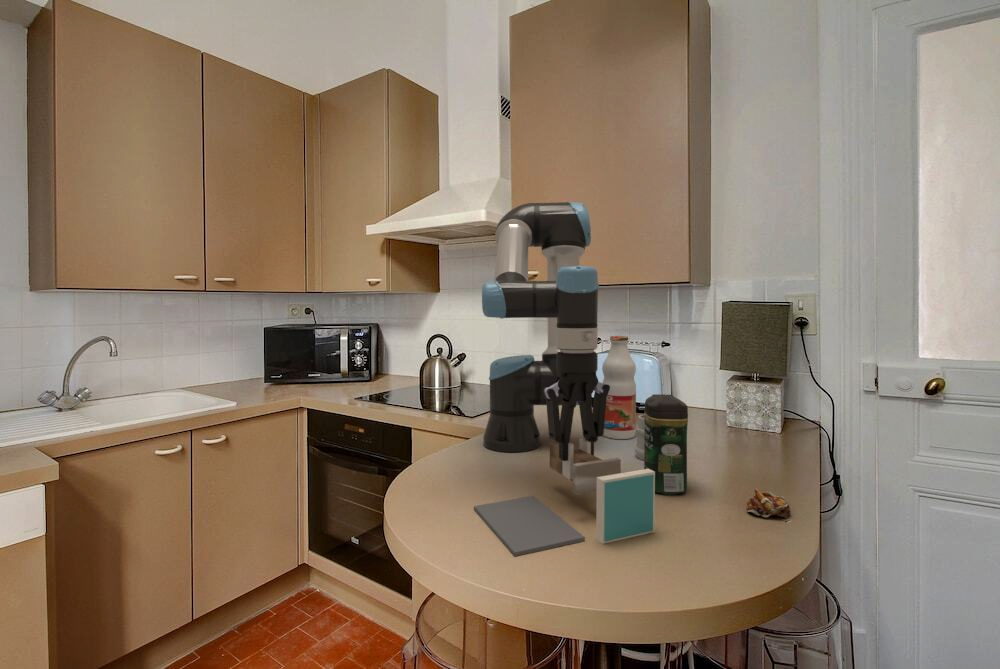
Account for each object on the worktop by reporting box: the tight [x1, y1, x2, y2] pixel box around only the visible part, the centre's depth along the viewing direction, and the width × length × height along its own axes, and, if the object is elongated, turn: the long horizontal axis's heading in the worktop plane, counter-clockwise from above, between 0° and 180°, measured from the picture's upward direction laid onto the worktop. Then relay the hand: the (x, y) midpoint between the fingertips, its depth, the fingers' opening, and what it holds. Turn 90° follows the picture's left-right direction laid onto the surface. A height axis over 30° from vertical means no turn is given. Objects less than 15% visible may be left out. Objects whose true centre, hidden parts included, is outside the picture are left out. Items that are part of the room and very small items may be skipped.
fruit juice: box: [601, 335, 637, 440], centre depth 137 cm, size 9×9×28 cm
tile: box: [595, 468, 656, 545], centre depth 78 cm, size 2×10×10 cm, turn 112°
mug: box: [634, 413, 645, 461], centre depth 115 cm, size 8×12×12 cm, turn 160°
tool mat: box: [473, 495, 586, 557], centre depth 82 cm, size 18×12×1 cm, turn 22°
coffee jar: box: [643, 393, 689, 496], centre depth 98 cm, size 10×8×19 cm
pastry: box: [746, 487, 793, 524], centre depth 88 cm, size 7×12×4 cm, turn 155°
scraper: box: [549, 441, 622, 496], centre depth 91 cm, size 15×9×5 cm, turn 22°
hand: (576, 475), depth 91 cm, fingers closed on scraper, 3 cm apart
